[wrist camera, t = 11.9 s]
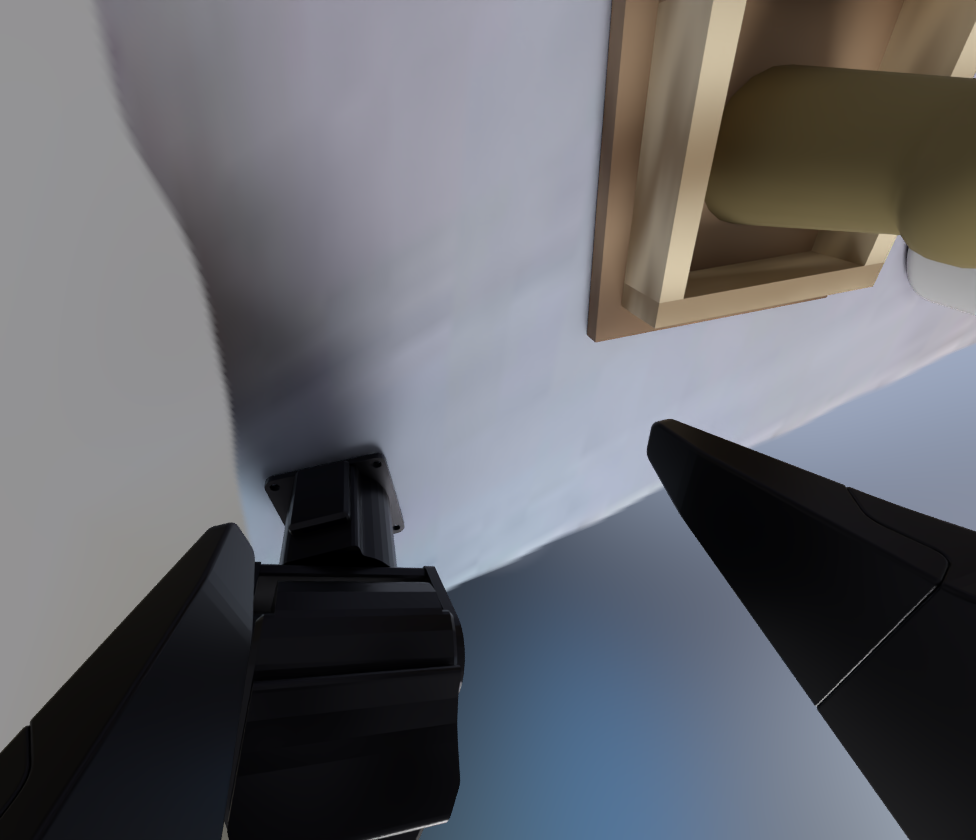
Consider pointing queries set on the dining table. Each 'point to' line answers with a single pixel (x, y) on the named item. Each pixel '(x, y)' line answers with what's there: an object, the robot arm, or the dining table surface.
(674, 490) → the robot arm
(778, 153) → the cork
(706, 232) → the socket block
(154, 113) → the dining table surface
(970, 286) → the cylinder vase
